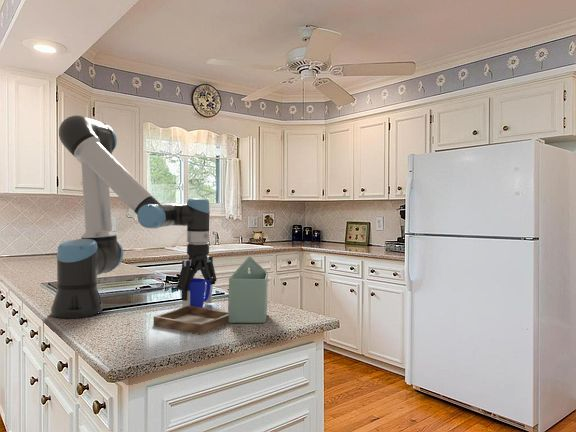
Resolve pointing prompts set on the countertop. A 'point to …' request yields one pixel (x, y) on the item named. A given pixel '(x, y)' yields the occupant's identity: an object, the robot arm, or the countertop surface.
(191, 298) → the mug
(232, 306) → the planter
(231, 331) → the countertop surface
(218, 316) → the brown wooden tray
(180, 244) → the countertop surface
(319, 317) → the countertop surface
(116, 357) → the countertop surface
